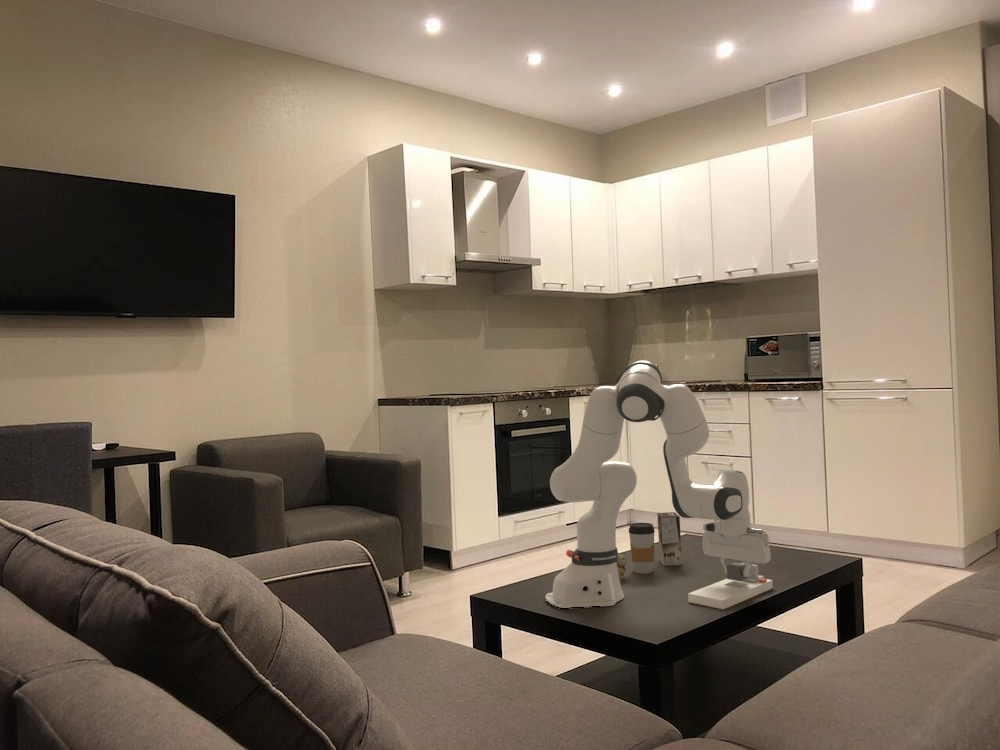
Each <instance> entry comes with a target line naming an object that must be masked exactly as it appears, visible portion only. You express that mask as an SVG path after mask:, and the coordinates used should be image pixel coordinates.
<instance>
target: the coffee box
mask: <svg viewBox="0 0 1000 750" xmlns="http://www.w3.org/2000/svg"><path fill="white" fill-rule="evenodd" d="M657 531H658V535H657V536H658V553H659V561H660V563H661V564H662V566H664V567H666V566H681V565H682V564H683V563H682V562H683V561H682V560H683V558H682V540H681V539H682V537H681V516H680V515H679V514H678V513H677V512H676V511H675V512H673V511H672V512H670V511H669V512H668V511H666V512H657Z"/></svg>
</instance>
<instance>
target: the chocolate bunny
mask: <svg viewBox="0 0 1000 750" xmlns="http://www.w3.org/2000/svg"><path fill="white" fill-rule="evenodd" d="M627 562H628V561H627V558H626V557H625V556H624V555H622V554H620V553H619V552H618V575H619V580H620V581H621V580H624V579H625V578H626V577H625V573H626V572H625V571H626V570H627V568H626V565H627Z"/></svg>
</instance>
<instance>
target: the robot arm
mask: <svg viewBox="0 0 1000 750" xmlns="http://www.w3.org/2000/svg"><path fill="white" fill-rule="evenodd" d="M699 403H700V402H699V401H698V399H697V398H696V395H695V394H694V393H693V391H692V390H691V388H690V387H688V385H685V384H681V383H675V384H671V385H665V384H663V376H662V373H661V370H660V369H659V368H658V366H656V364H654V363H653V362H651V361H648V360H645V359H644V360H643V359H640V360H637V361H635V362H632V363H631V364H630V365H629V366H628V367H626V369H625V370H624V371H623V372H622V373H621V374H620V375H619V376H618V377H617V379H616V384H615V385H613V386H611V385H600V386H598V387H595V388H594V389H593V390H592V391H591V393H590V395H589V397H588V400H587V402H586V407H585V410H584V415H583V419H582V420H583V421H582V427H581V431H580V437H579V440H578V443H577V446H576V447H575V450H574V451H573V452H572V454H571V455H570V456H569V457H568V458H567V459H566V460H565V462H563V463H562V464H561V465H559V466H557V467H555V468H554V470H553V471H552V472H551V476H550V478H549V487H550V491H551V493H552V495H553V496H554V498H555V499H556V500H558V501H559V502H568V503H580V502H581V503H584V502H593V504H592V506H591V507H590V509H589V510H588V511H587V512H586V513H585V514H583V515H581V516H580V517H579V519H578V520H577V523H576V541H577V542H576V544H577V545H576V546H577V548H576V549H575V550H572V549H566V551H565V555H566V557H569V558H571V562H570V563H569V564H568V565H567V566H566V567H565V568H564V569H563V570H561V572H559V573H558V574H557V575H556V576H555V577H554V580H553V585H552V592H547V593H546V595H545V598H544V600H545V599H546V600H545V602H546V601H548V602H549V603H550V604H552V605H555V606H558V607H561V608H569V609H571V608H570V607H584V608H593V607H592V606H600V607H609V606H610V607H611V606H614V605H616V603H618V602H620V601H621V600H623V599H624V598H625V595H624V592H623V588H622V585H621V580H619V575H618V553H619V551H618V547H617V541H616V538H617V537H616V531H617V530H616V525H617V519H618V515H619V512H620V509H621V507H622V506H623V503H625V501H626V500H627V498H628V497H630V496H631V495H632V494H633V493H634V492H635V489H636V487H637V483H638V477H637V473H636V471H635V469H634V468H633V466H632V465H631V464H630V463H629V462H625V461H619V460H617V461H616V460H611V459H612V458H613V457H615V456H616V454H617V453H618V452H619V449H620V444H621V438H622V433H623V427H624V422H625V420H626V421H628V422H630V423H643V422H647V421H650V422H652V421H656V420H658V419H660V421H661V423H662V426H663V429H664V431H665V433H666V434H665V435H666V439H665V440H664V443H663V446H662V447H663V448H662V450H663V453H662V454H663V458H664V463H665V467H666V472H667V475H668V481H669V485H670V490H671V502H672V506H673V508H674V511H675V513H676V514H677V515H678V516H679V517H680V518H683V519H684V518H685V519H703V520H704V519H705V520H713V521H708V522H706V523H704V524H702V525H703V528H702V529H703V531H704V532H703V534H702V553H704V555H705V556H710V557H715V558H720V562H721V564H722V567H723V568H724V573H725V574H726V575H727V565H728V564H729V562H728V561H729V560H735V561H740V562H743V563H744V565H746V567H745V569H743V570H741V573H742V574H741V575H742V576H744V577H748V576H749V570H750V568H751V566H752V564H753V563H754V564H755V563H756V564H759V565H760V564H762V565H764V564H767V563H768V562H770V560H771V558H772V556H771V555H772V554H771V549H770V548H771V547H770V544H769V543H770V542H769V540H770V538H769V534H768V533H767V532H766V531H765V530H763V529H756V528H752V526H751V524H752V523H751V513H750V509H749V504H750V492H749V491H750V490H749V483H748V479H747V475H746V473H745V472H743V471H740V470H732V469H731V470H730V469H722V470H719V471H718V473H717V479H716V480H715V481H714V482H712V484H706V483H705V484H703V483H697V482H694V481H692V480H691V479H690V476H689V471H688V467H687V463H686V458H687V457H691V456H692V455H694V454H696V453H698V452H700V450H702V448H704V447H705V445H706V444H707V442H708V439H709V438H710V429H709V426H708V422H707V420H706V417H705V414H704V412H703V410H702V407H701V405H700V404H699ZM550 604H549V605H550ZM590 606H591V607H590Z"/></svg>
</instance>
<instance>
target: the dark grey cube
mask: <svg viewBox="0 0 1000 750" xmlns="http://www.w3.org/2000/svg"><path fill="white" fill-rule="evenodd" d="M741 563H742V562H741ZM741 563H740V562H735V561H734V562H732V563H728V565H727V574H726V575H727V577H726V579H730V580H736V581H742V580H744V579H747V577H744V576H742V575H741V574H742V573H741V570H743V569H745V567H746V565H744V564H741Z"/></svg>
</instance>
